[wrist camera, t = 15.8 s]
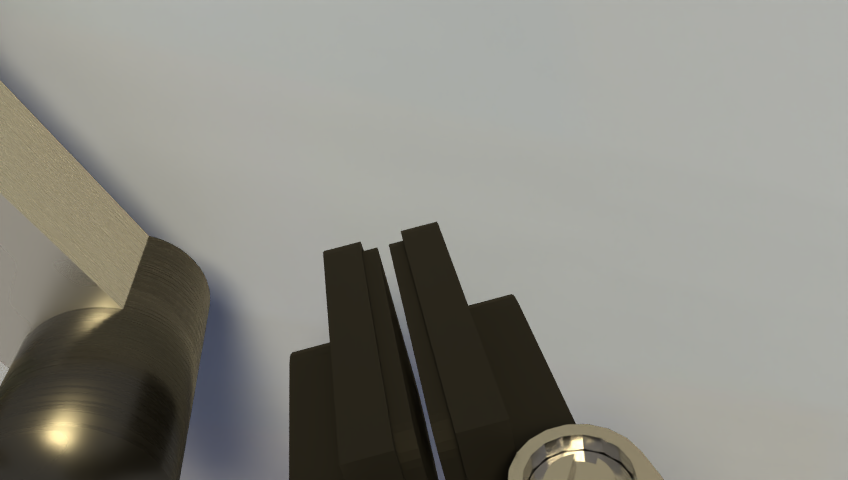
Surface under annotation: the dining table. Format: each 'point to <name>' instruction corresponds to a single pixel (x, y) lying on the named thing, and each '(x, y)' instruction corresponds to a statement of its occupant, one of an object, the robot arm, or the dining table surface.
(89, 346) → the crank
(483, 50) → the dining table surface
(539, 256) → the dining table surface
